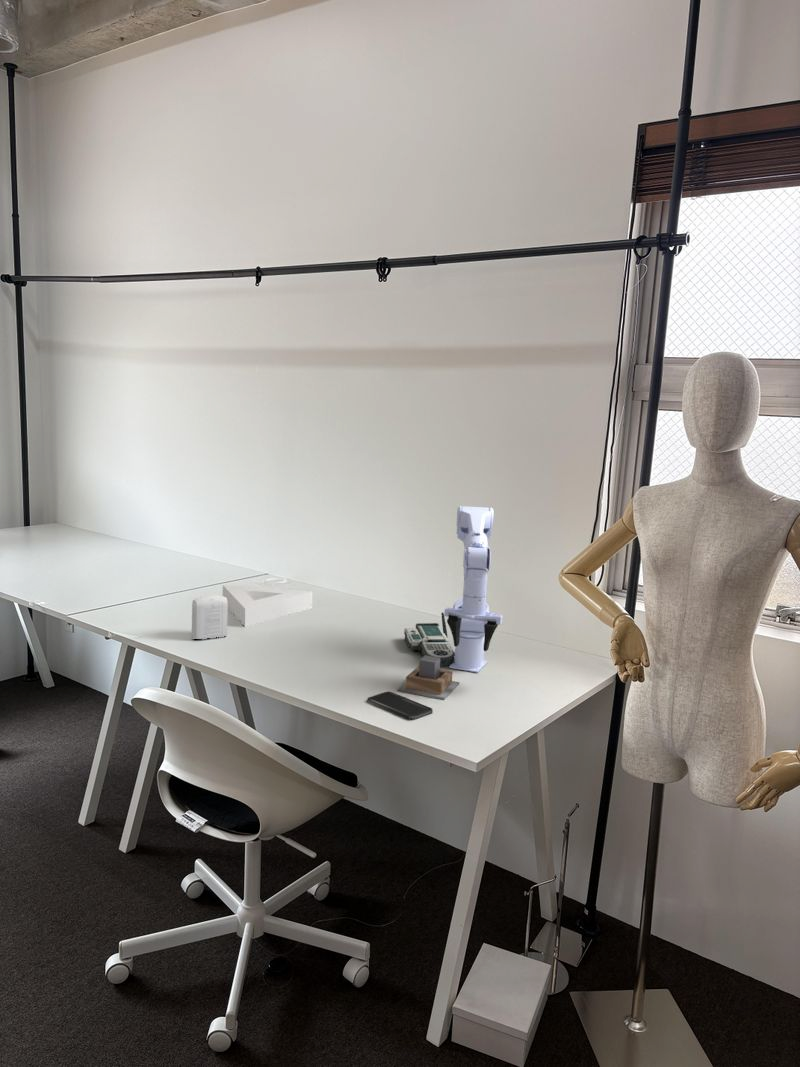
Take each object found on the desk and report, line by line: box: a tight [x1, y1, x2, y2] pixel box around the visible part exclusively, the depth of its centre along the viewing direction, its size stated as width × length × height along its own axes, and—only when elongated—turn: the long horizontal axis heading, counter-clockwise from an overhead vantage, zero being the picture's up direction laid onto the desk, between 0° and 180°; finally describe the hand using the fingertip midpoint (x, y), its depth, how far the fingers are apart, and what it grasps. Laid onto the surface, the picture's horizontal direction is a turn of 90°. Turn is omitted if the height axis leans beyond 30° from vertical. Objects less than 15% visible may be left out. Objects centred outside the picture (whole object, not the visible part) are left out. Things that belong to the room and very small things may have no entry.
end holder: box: [397, 665, 460, 701], centre depth 208 cm, size 12×12×4 cm
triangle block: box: [222, 584, 313, 628], centre depth 263 cm, size 30×26×6 cm
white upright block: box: [191, 594, 229, 640], centre depth 239 cm, size 10×4×12 cm, turn 123°
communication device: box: [403, 612, 455, 667], centre depth 235 cm, size 12×24×9 cm, turn 10°
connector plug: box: [418, 655, 441, 680], centre depth 208 cm, size 4×4×7 cm
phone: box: [366, 691, 433, 721], centre depth 196 cm, size 8×1×15 cm
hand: (471, 647), depth 211 cm, fingers open, 7 cm apart
